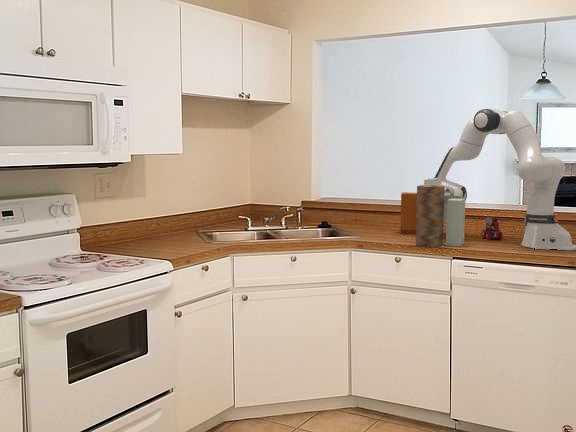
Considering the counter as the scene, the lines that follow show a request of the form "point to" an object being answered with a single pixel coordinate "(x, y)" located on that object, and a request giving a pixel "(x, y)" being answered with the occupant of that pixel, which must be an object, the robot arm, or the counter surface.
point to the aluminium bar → (432, 182)
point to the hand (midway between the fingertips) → (437, 187)
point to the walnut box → (430, 216)
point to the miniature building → (408, 213)
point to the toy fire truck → (491, 229)
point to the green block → (455, 222)
